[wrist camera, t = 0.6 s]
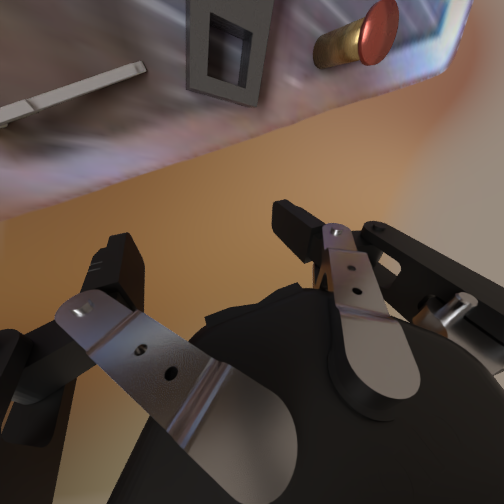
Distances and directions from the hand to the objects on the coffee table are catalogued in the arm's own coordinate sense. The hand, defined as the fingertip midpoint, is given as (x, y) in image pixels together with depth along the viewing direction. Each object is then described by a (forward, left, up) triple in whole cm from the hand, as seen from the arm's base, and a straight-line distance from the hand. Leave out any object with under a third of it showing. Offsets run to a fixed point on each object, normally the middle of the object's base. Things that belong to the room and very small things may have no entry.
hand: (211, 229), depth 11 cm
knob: (-18, +24, -27) cm, 41 cm away
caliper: (-4, -12, -28) cm, 30 cm away
